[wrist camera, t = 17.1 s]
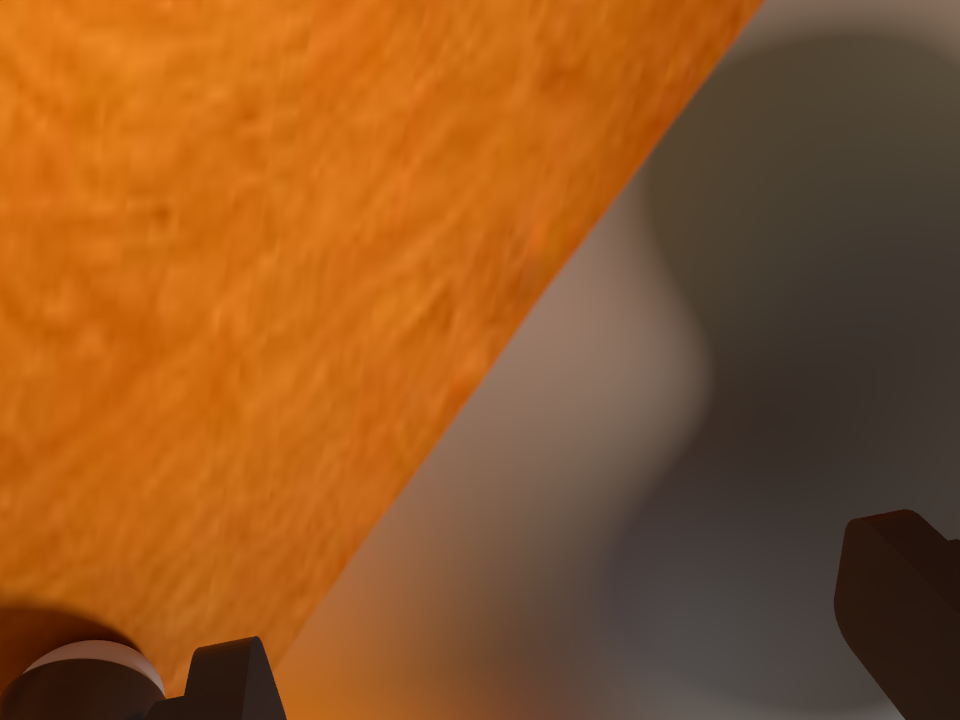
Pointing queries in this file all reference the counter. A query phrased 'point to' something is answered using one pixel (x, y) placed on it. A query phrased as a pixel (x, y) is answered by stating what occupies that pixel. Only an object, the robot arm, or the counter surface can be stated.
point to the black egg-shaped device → (84, 685)
